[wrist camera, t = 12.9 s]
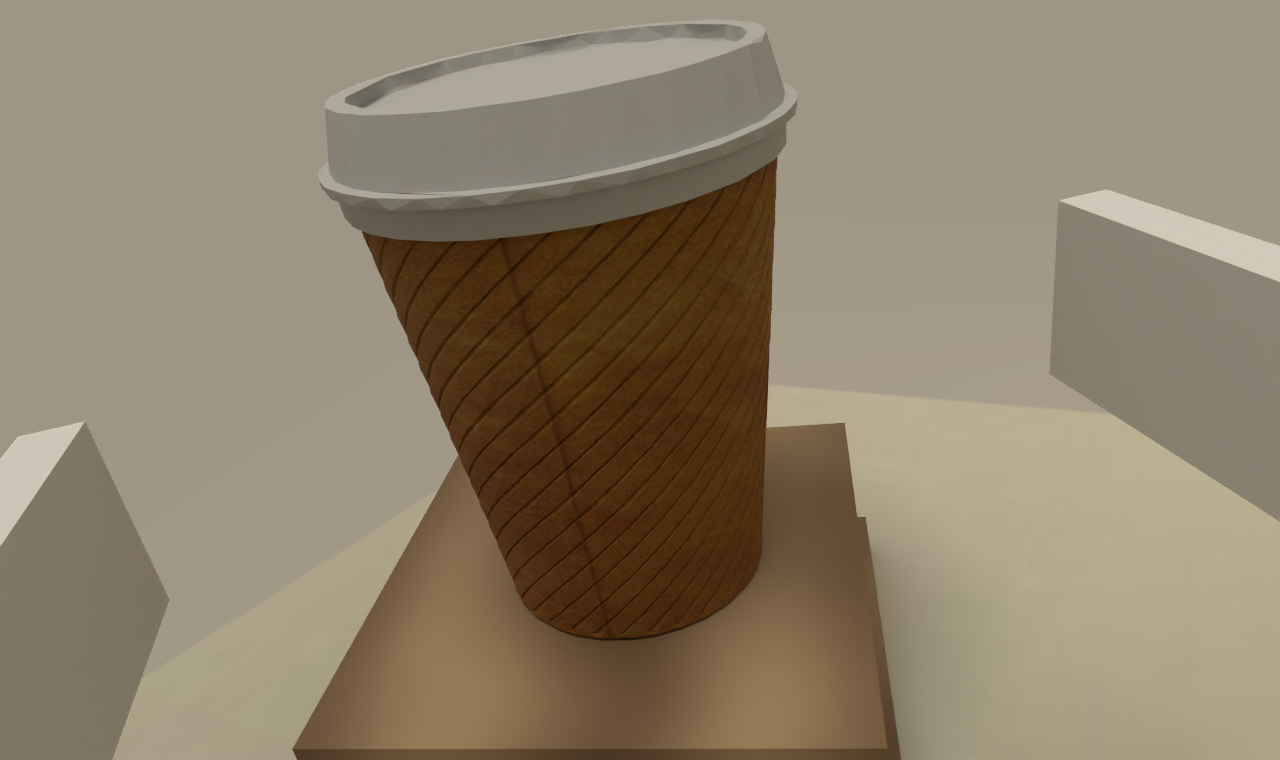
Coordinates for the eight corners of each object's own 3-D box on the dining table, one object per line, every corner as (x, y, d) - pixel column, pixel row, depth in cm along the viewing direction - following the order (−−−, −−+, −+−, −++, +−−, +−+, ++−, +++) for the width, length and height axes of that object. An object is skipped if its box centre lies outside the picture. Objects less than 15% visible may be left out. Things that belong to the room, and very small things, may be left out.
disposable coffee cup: (607, 427, 29) (531, 30, 24) (893, 499, 24) (877, 2, 19) (371, 610, 23) (197, 122, 18) (688, 766, 17) (573, 121, 12)
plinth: (330, 922, 21) (258, 769, 19) (486, 562, 33) (453, 439, 30) (922, 944, 19) (919, 770, 17) (866, 547, 30) (860, 413, 28)
